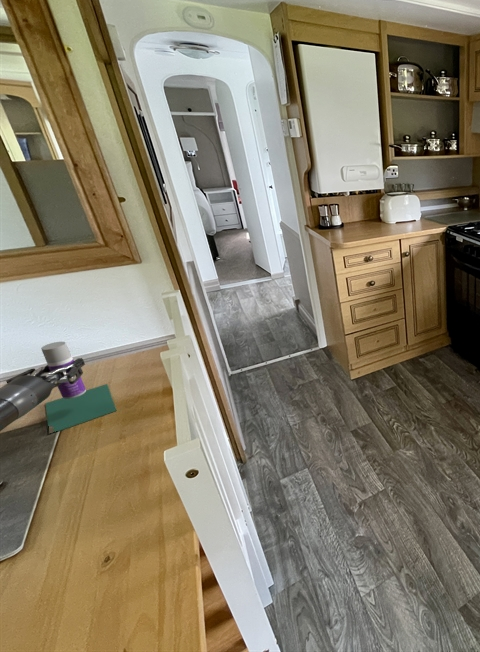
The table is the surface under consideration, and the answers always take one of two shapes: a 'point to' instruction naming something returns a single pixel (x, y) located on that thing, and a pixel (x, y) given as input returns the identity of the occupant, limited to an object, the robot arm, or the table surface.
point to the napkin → (79, 408)
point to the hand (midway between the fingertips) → (70, 362)
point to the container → (60, 358)
